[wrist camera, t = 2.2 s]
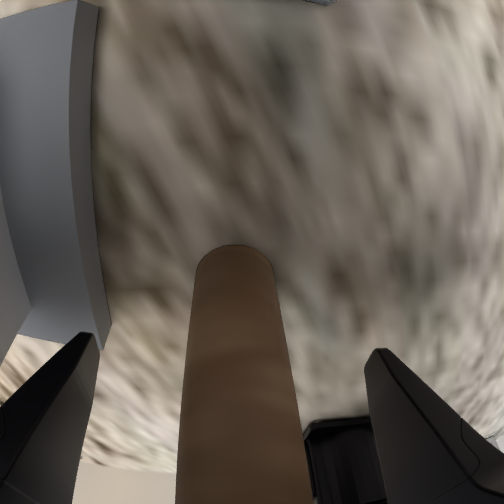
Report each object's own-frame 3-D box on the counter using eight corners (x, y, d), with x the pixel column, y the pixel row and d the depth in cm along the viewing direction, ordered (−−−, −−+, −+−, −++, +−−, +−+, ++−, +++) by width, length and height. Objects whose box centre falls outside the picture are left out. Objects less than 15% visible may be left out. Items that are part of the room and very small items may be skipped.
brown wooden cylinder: (279, 248, 11) (349, 582, 3) (266, 309, 13) (303, 582, 4) (197, 241, 11) (167, 595, 2) (194, 304, 12) (179, 586, 4)
